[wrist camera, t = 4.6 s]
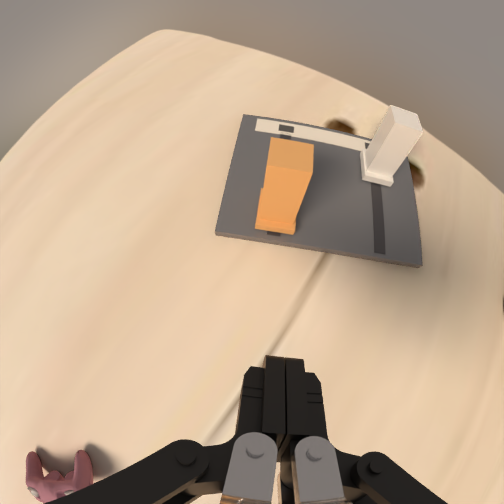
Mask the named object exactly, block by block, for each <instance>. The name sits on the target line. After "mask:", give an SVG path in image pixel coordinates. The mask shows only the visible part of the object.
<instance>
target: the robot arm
mask: <svg viewBox="0 0 504 504" xmlns="http://www.w3.org/2000/svg"><path fill="white" fill-rule="evenodd" d="M276 462H281V464H280V473H279V474H278V477H277V486H278V503H279V504H448V503H446V502H445V501H443V500H442V499H441V498H439V497H438V496H437V495H435V494H434V493H433V492H431V491H430V490H429V489H427V488H426V487H425V486H424V485H422V484H421V483H420V482H418V481H417V480H416V479H415V478H413V477H412V476H411V475H410V474H408V473H407V472H406V471H405V470H403V469H402V468H401V467H400V466H398V465H397V464H396V463H395V462H394V461H392V460H391V459H390V458H389V457H387V456H386V455H385V454H383V453H380V452H369V453H366V454H364V455H363V456H362V457H360V456H356V455H352V454H348V453H344V452H341V451H339V450H337V449H336V448H335V447H334V446H333V445H332V444H331V443H330V441H329V439H328V436H327V429H326V421H325V412H324V404H323V397H322V389H321V383H320V381H319V380H318V378H317V376H316V375H315V373H308V372H305V368H304V360H303V359H296V358H286V357H285V358H284V357H277V356H269V355H265V358H264V362H263V366H262V368H260V367H253V366H251V367H250V368H249V369H248V371H247V372H246V373H245V375H244V379H243V384H242V389H241V395H240V401H239V409H238V416H237V424H236V431H235V435H234V437H233V438H232V439H231V440H229V441H228V442H226V443H223V444H220V445H214V446H204V447H203V446H202V445H201V444H199V443H197V442H195V441H192V440H177V441H174V442H172V443H170V444H169V445H167V446H165V447H164V448H162V449H160V450H159V451H157V452H155V453H153V454H151V455H150V456H148V457H146V458H144V459H142V460H141V461H139V462H137V463H135V464H133V465H131V466H129V467H127V468H125V469H123V470H121V471H119V472H117V473H115V474H113V475H111V476H109V477H107V478H105V479H103V480H101V481H99V482H96V483H94V484H92V485H90V486H87V487H85V488H83V489H80V490H78V491H76V492H73V493H71V494H68V495H66V496H63V497H61V498H58V499H55V500H53V501H50V502H47V503H44V504H190V503H191V502H193V501H194V500H196V499H197V498H199V497H200V496H202V495H207V494H216V493H222V497H221V501H220V504H271V499H272V492H273V484H274V477H275V469H276Z"/></svg>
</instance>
